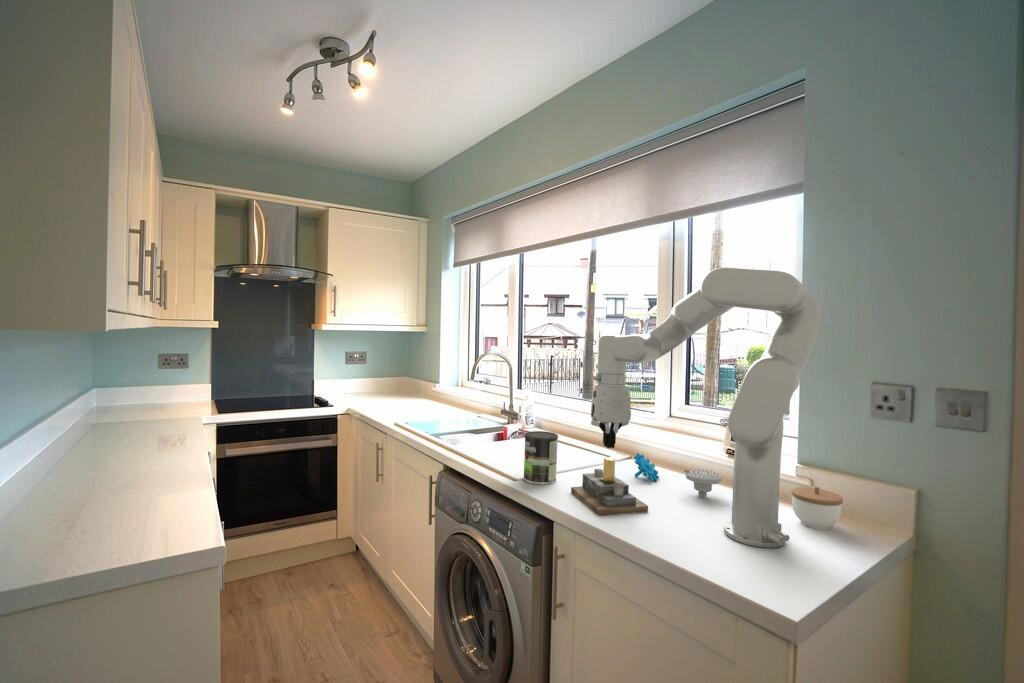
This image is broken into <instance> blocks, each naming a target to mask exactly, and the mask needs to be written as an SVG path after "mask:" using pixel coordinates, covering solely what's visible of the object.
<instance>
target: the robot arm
mask: <svg viewBox="0 0 1024 683" xmlns="http://www.w3.org/2000/svg"><path fill="white" fill-rule="evenodd" d="M816 299H817V298H815V296H814V295H813V294H812V292H811V291H810V289H808V288H807V287H806V286H805V285H804V284H803V283H802V282H801V281H800V280H799V279H798V278H797V277H796V276H794V275H792V274H790V273H788V272H785V271H781V270H771V269H770V270H767V269H754V268H752V269H751V268H750V269H749V268H737V267H725V266H723V267H721V266H720V267H717V268H714V269H712V270H709V271H708V272H707V273H706V275H704V276H703V278H702V279H701V284H700V286H698V287H697V288H696V289H695V290H693V291H692V292H690V293H689V294H688V295H686V296H685V297H683V298H682V299H680V300H679V301H678V302H676V303H674V305H673V307H672V308H671V312H670V314H669V315H668V317H667V318H666V319H665V320H663V322H662V323H660V324H659V325H658V326H656V327H654V329H652V330H650V331H648V332H647V333H646V334H641V333H638V334H635V333H634V334H628V335H622V334H615V333H614V334H613V333H612V334H602V335H600V336H599V338H598V350H597V353H598V355H597V359H598V360H597V373H596V375H593V376H592V380H593V381H596V383H595V384H594V387H593V388H594V389H593V393H592V397H591V405H590V406H591V407H590V418H591V421H590V425H591V426H594V427H598V428H599V429H600V430H601V432H602V435H603V436H602V443H603V446H604V447H606V448H607V449H615V445H616V443H617V442H616V441H617V440H616V439H617V438H616V437H617V434H618V433H619V430H620V429H621V428H622V427H625V426H628V425H629V421H630V420H631V418H632V417H631V416H632V404H631V403H632V402H631V392H630V388H629V387H630V386H629V385H628V384H626V376H627V375H626V374H627V363H631V364H644V363H651V362H654V361H655V362H656V361H657V360H658V359H660V358H661V357H663V356H665V355H667V354H668V353H670V352H671V351H673V350H674V349H676V348H677V347H679V345H681V344H682V343H684V342H685V341H686V340H688V339H689V338H691V337H692V336H693V335H694V334H695V333H696V332H698V331H699V330H702V329H703V328H704V327H706V326H707V325H709V324H710V323H711V322H713V321H714V320H716V319H717V318H719V317H721V316H722V315H724V314H725V313H727V312H729V311H730V310H731V309H733V308H743V309H750V310H759V311H760V310H761V311H768V312H773V313H774V314H775V316H776V321H775V325H774V328H773V329H772V331H771V334H770V335H769V339H768V342H767V343H766V344H767V345H766V346H765V348H764V352H763V354H762V355H761V357H760V358H759V359H757V360H755V361H754V362H753V363H752V364H751V365H750V366H749V367H748V370H747V371H746V373H745V376H744V378H743V380H742V383H741V384H740V387H739V390H738V393H737V395H736V398H735V399H734V402H733V405H732V406H731V407H732V408H731V410H730V413H729V416H728V419H727V427H728V428H727V429H728V431H729V434H730V436H731V437H732V439H733V440H734V441H735V444H734V455H733V456H734V457H733V473H732V474H733V476H732V478H733V479H732V481H733V482H732V504H731V505H732V506H731V508H732V509H731V521H729V522H727V523H725V524H724V527H723V532H724V534H725V535H727V537H729V539H730V538H731V540H734V541H736V542H738V543H741V544H744V545H748V546H751V547H757V548H766V549H767V548H770V549H772V548H778V547H783V546H784V545H785V544H786V542H788V541H789V540H790V535H789V534H787V533H785V532H782V525H783V524H782V523H780V522H779V506H780V505H779V504H780V481H781V480H780V479H781V478H780V476H781V462H782V445H783V438H784V437H783V435H784V415H785V413H786V412H787V411H786V410H787V409H788V405H789V404H790V402H791V399H792V396H793V394H794V393H795V391H797V389H798V387H799V386H800V382H801V377H802V375H803V372H804V370H805V367H806V364H807V361H808V360H809V358H810V354H811V352H812V349H813V346H814V344H815V342H816V339H817V336H818V333H819V330H820V326H821V310H820V306H819V304H818V301H817V300H816Z"/></svg>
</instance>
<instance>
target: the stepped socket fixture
mask: <svg viewBox="0 0 1024 683" xmlns="http://www.w3.org/2000/svg"><path fill="white" fill-rule="evenodd" d="M629 487H630V485H629V484H627V483H626V482H625V481H623V480H621V479H619V478H618V477H617V476H616V475H615V476H614V484H604V483H603V469H602V468H595V469H594V472H592V473H591V472H588V473H582V486H571V487H570V493H571V494H572V495H574V496H575V497H576V498H577V499H578V500H580V501H581V502H582V503H583V504H584V505H585V506H586V507H588V508H589V509H590V510H591V511H592V512H593V513H595V514H596V515H597V516H598V515H599V516H609V514H612V515H621V514H620V513H624V514H634V513H633V512H637V513H645V512H644V511H648V512H649V505H647V503H644V502H643V501H642V500H640V499H639V498H637V497H636V496H634V495H633V494H631V493H630V492H629V489H630V488H629Z"/></svg>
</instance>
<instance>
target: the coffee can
mask: <svg viewBox="0 0 1024 683" xmlns="http://www.w3.org/2000/svg"><path fill="white" fill-rule="evenodd" d="M558 438H559V435H558V434H557V433H555V432H549V431H540V430H533V431H528V432H526V433H524V457H523V458H524V460H523V463H524V464H523V478H524V479H523V481H524V480H525V481H524V482H526V483H527V484H533V485H542V486H543V485H551V484H555V483H556V482H557V462H558V440H559V439H558Z"/></svg>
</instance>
